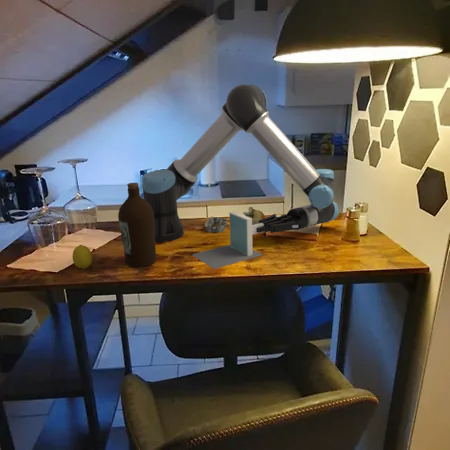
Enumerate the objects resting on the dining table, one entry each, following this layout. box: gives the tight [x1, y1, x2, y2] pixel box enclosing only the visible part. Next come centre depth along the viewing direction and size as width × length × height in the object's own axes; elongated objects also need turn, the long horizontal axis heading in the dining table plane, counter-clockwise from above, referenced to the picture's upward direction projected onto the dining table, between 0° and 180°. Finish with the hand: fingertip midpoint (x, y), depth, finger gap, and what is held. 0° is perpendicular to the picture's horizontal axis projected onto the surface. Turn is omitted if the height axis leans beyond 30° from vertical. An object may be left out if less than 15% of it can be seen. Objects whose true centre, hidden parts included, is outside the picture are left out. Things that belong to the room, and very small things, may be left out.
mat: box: [191, 244, 263, 270], centre depth 129 cm, size 18×14×1 cm
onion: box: [242, 206, 266, 225], centre depth 156 cm, size 8×8×8 cm
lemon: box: [71, 244, 93, 270], centre depth 122 cm, size 6×6×8 cm
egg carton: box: [204, 216, 229, 234], centre depth 156 cm, size 11×8×4 cm
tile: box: [229, 211, 254, 256], centre depth 130 cm, size 2×10×12 cm, turn 32°
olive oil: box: [117, 182, 157, 268], centre depth 124 cm, size 11×11×25 cm
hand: (246, 231), depth 131 cm, fingers closed
